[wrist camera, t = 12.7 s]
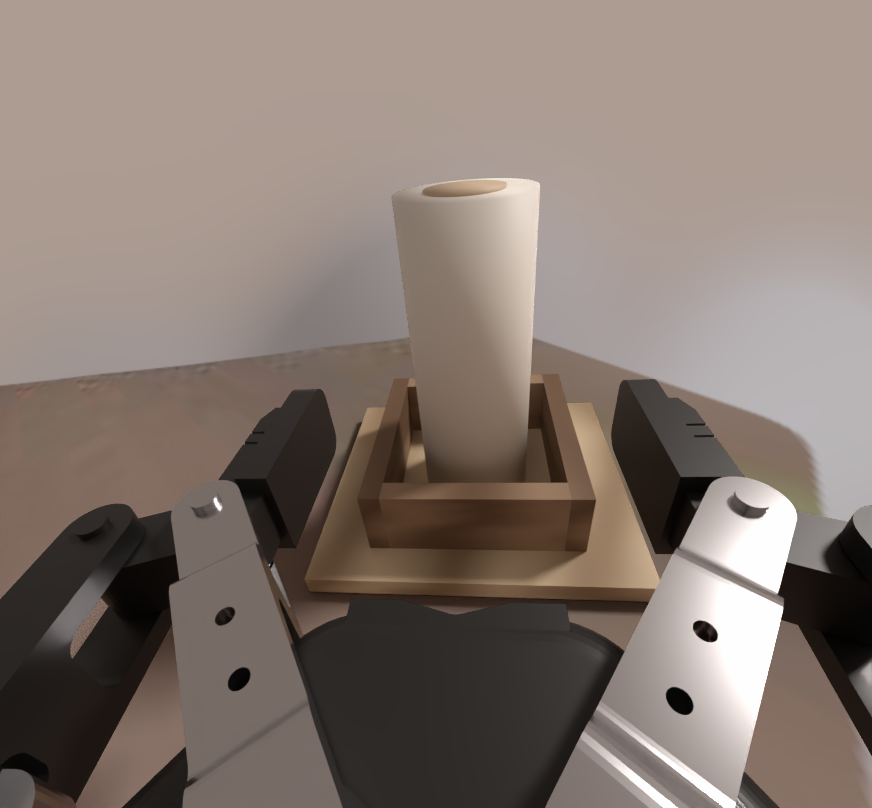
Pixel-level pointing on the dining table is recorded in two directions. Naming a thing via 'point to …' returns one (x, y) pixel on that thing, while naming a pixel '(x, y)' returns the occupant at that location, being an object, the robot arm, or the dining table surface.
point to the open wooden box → (484, 514)
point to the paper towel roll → (471, 321)
